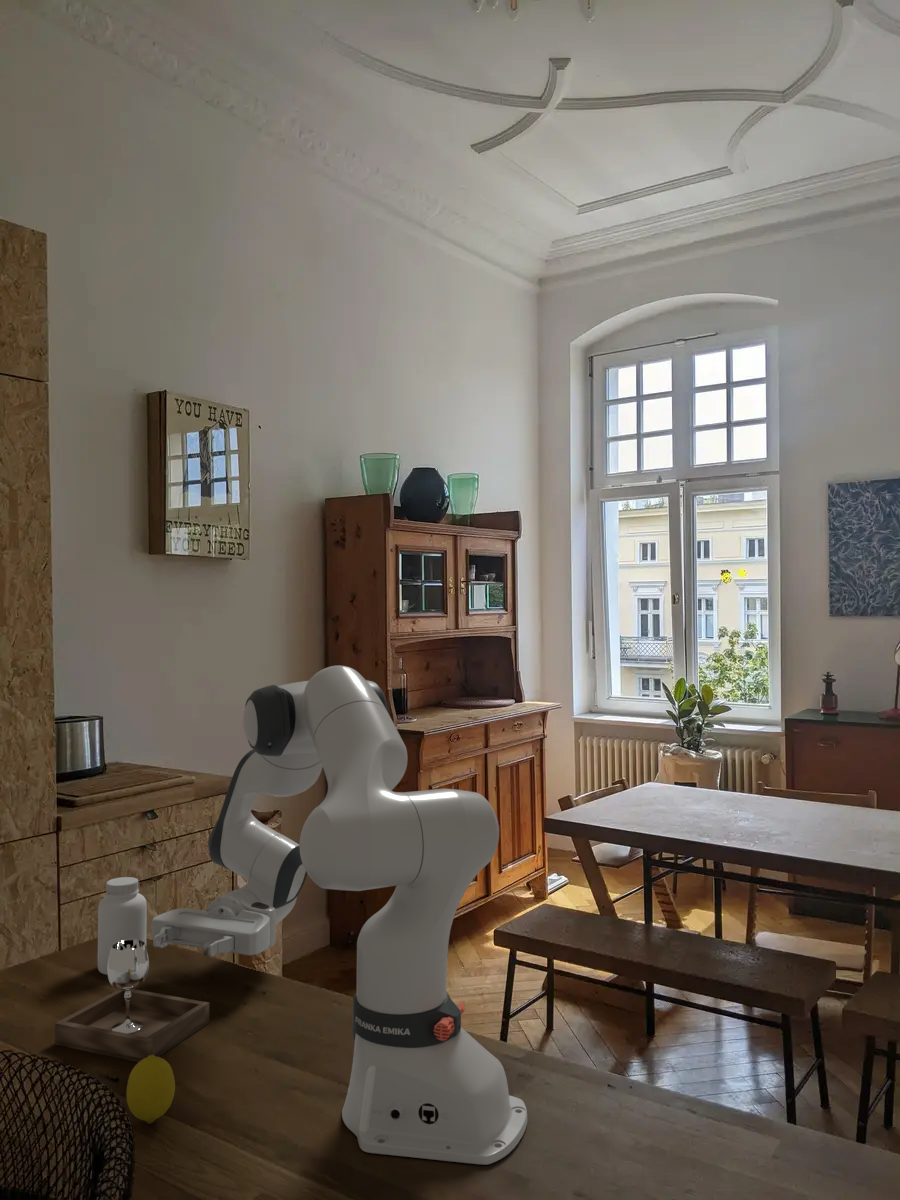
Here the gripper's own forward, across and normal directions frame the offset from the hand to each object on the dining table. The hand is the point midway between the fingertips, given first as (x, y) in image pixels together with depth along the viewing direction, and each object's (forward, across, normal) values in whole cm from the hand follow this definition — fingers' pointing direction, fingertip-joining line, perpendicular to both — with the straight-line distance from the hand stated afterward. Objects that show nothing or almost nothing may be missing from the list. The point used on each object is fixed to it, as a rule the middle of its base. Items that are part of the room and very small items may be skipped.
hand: (181, 946), depth 148 cm
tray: (+11, 0, +9) cm, 14 cm away
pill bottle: (-9, -19, +9) cm, 23 cm away
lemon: (+30, +18, +9) cm, 37 cm away
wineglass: (+11, -1, +8) cm, 14 cm away
